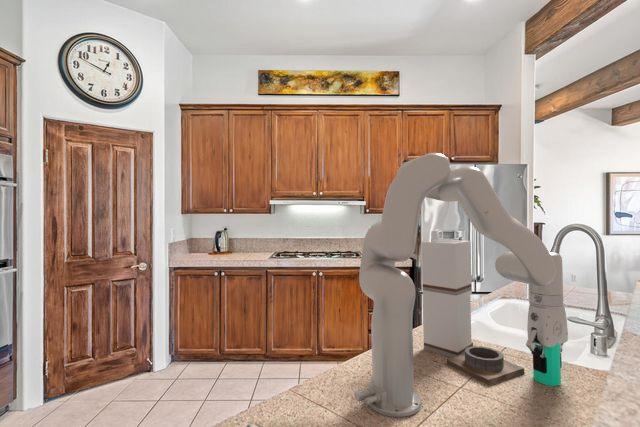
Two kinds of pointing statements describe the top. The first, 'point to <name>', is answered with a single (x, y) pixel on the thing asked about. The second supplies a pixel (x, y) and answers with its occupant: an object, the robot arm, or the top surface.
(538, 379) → the candle
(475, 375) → the candle stand
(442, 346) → the tall banded pillar
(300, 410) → the top surface
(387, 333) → the robot arm
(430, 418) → the top surface
